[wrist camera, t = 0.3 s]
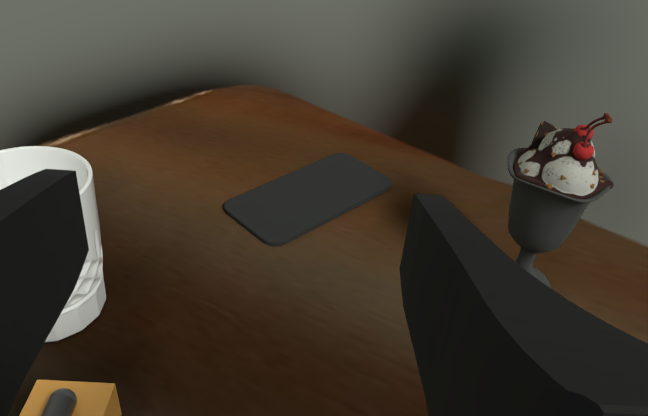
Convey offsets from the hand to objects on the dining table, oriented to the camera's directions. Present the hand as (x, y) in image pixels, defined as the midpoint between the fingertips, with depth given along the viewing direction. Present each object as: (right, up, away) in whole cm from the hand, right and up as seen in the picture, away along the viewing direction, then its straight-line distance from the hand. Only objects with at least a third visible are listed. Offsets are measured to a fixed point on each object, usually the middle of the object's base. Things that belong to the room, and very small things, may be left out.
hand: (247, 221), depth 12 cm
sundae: (+17, -6, +31) cm, 36 cm away
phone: (+1, +1, +39) cm, 39 cm away
